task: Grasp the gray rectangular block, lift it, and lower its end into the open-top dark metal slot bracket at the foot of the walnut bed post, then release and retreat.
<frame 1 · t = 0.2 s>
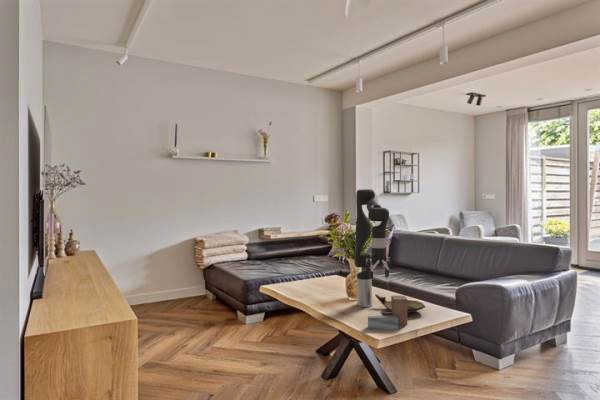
hand: (379, 277, 203), 27 cm above the table, fingers open, 8 cm apart
bed post: (399, 322, 215), on the table
oil lamp: (400, 311, 237), on the table
gray rectangular block: (383, 328, 207), on the table
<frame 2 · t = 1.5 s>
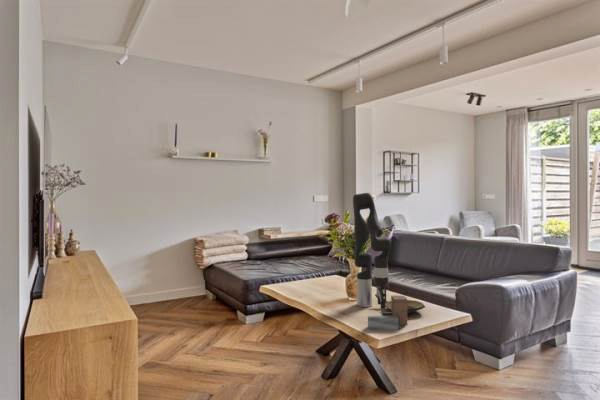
hand: (381, 306, 207), 11 cm above the table, fingers open, 8 cm apart
nothing on the table moved.
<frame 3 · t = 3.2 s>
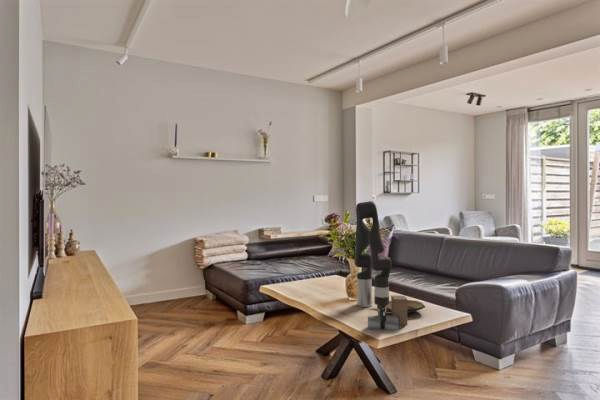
hand: (381, 327, 207), 0 cm above the table, fingers closed on gray rectangular block, 3 cm apart
gray rectangular block: (383, 328, 207), on the table, touching gripper
everything else where it was.
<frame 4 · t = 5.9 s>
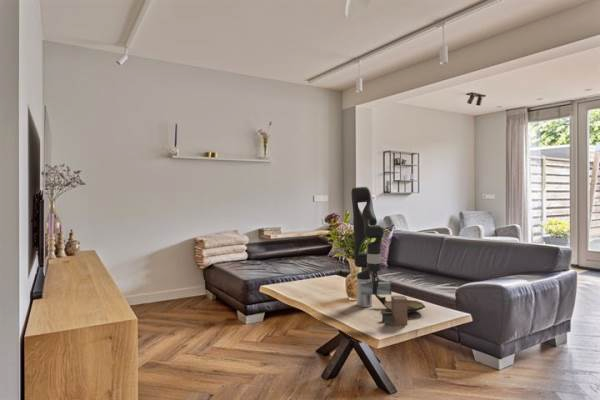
hand: (374, 293, 215), 16 cm above the table, fingers closed on gray rectangular block, 3 cm apart
gray rectangular block: (376, 293, 215), point 16 cm above the table, touching gripper
everything else where it was.
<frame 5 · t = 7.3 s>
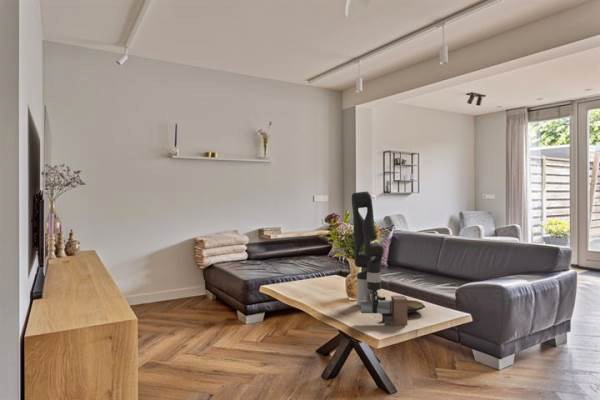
hand: (374, 311, 215), 6 cm above the table, fingers closed on gray rectangular block, 3 cm apart
gray rectangular block: (375, 312, 215), point 6 cm above the table, touching gripper
everything else where it was.
when the fingers open (2 cm above the table, at t = 8.5 s): gray rectangular block drops 1 cm, on the table.
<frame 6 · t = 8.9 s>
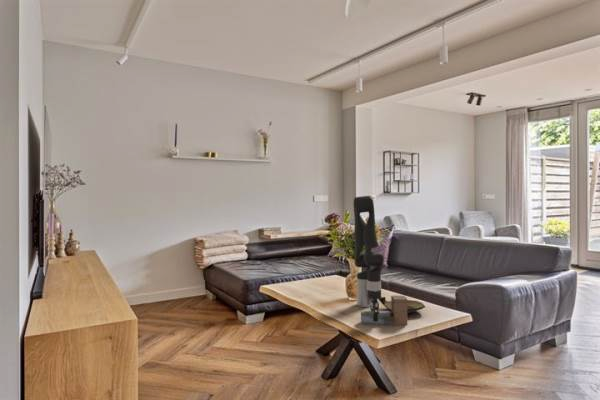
hand: (374, 318, 215), 2 cm above the table, fingers open, 7 cm apart
gray rectangular block: (376, 323, 215), on the table
everything else where it was.
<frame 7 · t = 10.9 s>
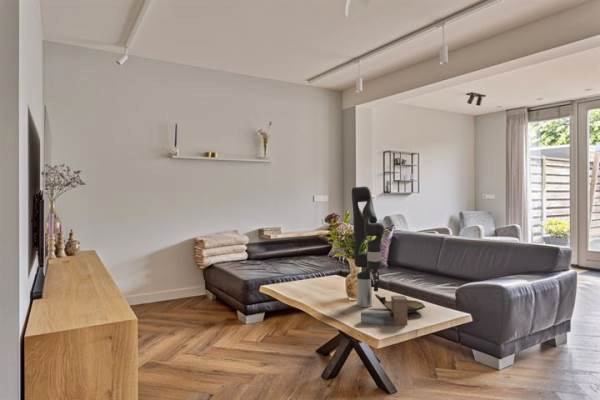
hand: (374, 289, 215), 18 cm above the table, fingers open, 8 cm apart
nothing on the table moved.
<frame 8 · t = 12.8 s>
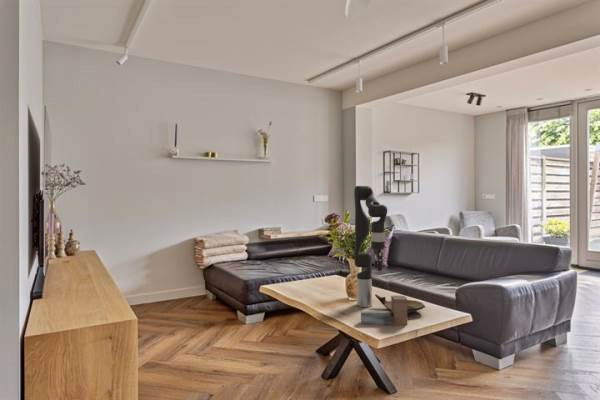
hand: (378, 269, 221), 28 cm above the table, fingers open, 8 cm apart
nothing on the table moved.
at the end: gray rectangular block 0.2 cm from the target spot on the table beside the bed post, on the table; gray rectangular block tilted 0°; the gripper is holding nothing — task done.
